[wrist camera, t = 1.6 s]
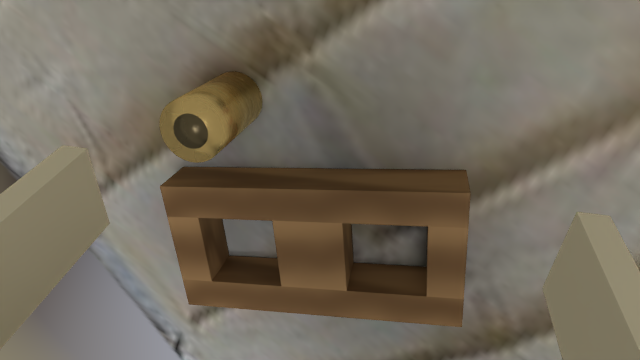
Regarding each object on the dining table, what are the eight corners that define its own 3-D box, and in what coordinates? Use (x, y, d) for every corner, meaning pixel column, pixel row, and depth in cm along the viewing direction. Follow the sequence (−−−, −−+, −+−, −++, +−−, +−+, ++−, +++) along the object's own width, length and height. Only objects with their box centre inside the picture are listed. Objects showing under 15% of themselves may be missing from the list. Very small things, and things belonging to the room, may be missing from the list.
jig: (458, 295, 40) (461, 327, 37) (207, 277, 46) (188, 304, 42) (466, 170, 35) (470, 193, 32) (183, 166, 41) (159, 186, 37)
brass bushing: (265, 124, 37) (227, 163, 30) (215, 125, 38) (167, 162, 31) (258, 70, 35) (216, 97, 28) (206, 72, 36) (152, 99, 29)
